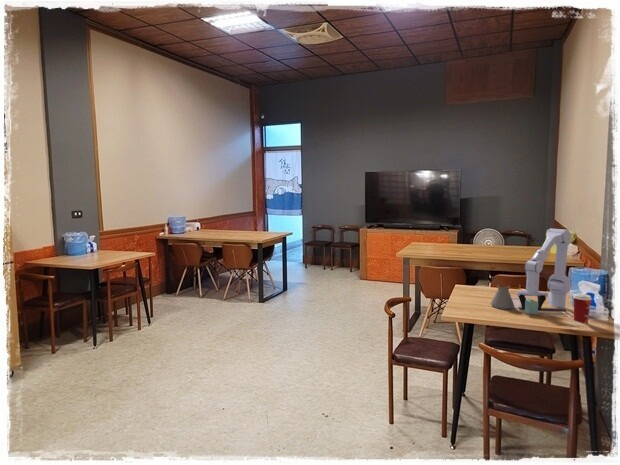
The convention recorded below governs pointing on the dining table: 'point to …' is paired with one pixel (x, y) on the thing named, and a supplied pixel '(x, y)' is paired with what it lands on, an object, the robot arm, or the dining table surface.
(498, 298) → the coffee pot
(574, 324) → the dining table surface
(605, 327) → the dining table surface
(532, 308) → the teal and beige block
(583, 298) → the paper cup
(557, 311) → the board
